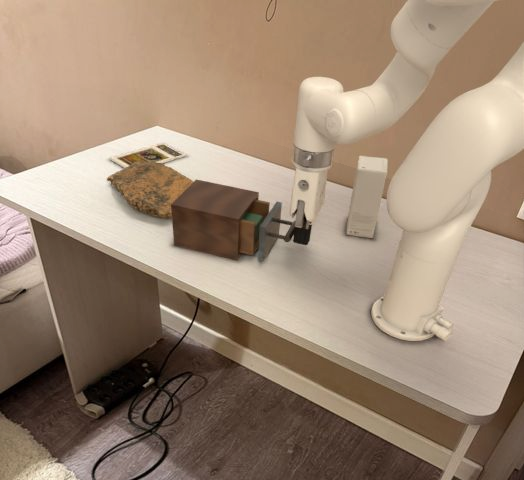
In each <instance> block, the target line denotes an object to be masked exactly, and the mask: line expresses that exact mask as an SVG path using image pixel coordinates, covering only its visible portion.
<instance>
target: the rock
mask: <svg viewBox="0 0 524 480" xmlns="http://www.w3.org/2000/svg"><path fill="white" fill-rule="evenodd" d="M106 181H107V182H110V184H111V185H112V186H113V187H114V188H116V189H117V190H118V191H119V192H120V193H121V194H123V195H124V199H125V200H126V202H127V203H128V204H129V205H130V207H132V208H133V209H134V210H136V211H138V212H142V213H145V214H147V215H152V216H154V217H158V218H160V219H169V218H172V212H171V204H172V203H173V202H174V201H175V200H176V199H177V198H178V197H179V196H180V195H181V194H182V193H183V192H184V191H185V190H186V189H187V188H188V187H189V186H190V185H191V184H192V183H193V182H194V181H193V180H192V179H191V178H189V177H187V176H185V175H184V174H182V173H180V172H178V171H177V170H175V169H174V168H172V167H171V166H167V165H165V164H164V163H157V162H147V161H146V162H145V161H136V162H134V163H133V164H131V165H130V166H128V167H126V168H123V169H120V170H118V171H116V172H114V173H113V174H110V175H109V176H108V177H106Z"/></svg>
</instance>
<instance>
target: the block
mask: <svg viewBox="0 0 524 480" xmlns="http://www.w3.org/2000/svg"><path fill="white" fill-rule="evenodd" d="M262 219H263V216H261V215H257V214H252V213H247V212H246V213H245V215H244V216H243V217H242V220H247V221H251V222H256V227H255V244H256V242H257V241H258V239H259V232H260V225H261V224H262Z"/></svg>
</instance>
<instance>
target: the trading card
mask: <svg viewBox="0 0 524 480" xmlns="http://www.w3.org/2000/svg"><path fill="white" fill-rule="evenodd" d="M186 156H187V155H186V153H185V152H182V151H181V150H179V149H177V148H176V147H173V146H171V145H170V144H167V143H166V142H159V143H155V144H152V145H149V146H145V147H142V148H138V149H134V150H131V151H127V152H123V153H120V154H116V155H113V156H110V157H109V160H110V161H112V162H113V163H115V164H117V165H118V166H120V167H122V168H123V169H124V168H126V167H128V166H130V165H131V164H133V163H134V162H136V161H145V162H146V161H147V162H157V163H163V164H164V163H165V164H166V163H168V162H171V161H175V160H177V159H178V160H179V159H180V158H184V157H186Z"/></svg>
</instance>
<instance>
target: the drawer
mask: <svg viewBox="0 0 524 480" xmlns="http://www.w3.org/2000/svg"><path fill="white" fill-rule="evenodd" d="M270 205H271V202H269V201H266V200H261V199H259V200H255V201H254V203H253V204H252V205H251V207H250V208H249V209H248V211H247V213H252V214H257V215H261V216H263V219H262V224H261V225H260V232H259V239H258V241H257V242H256V244H255V227H256V222H251V221H247V220H242V219H241V220H240V231H239V252H240V253H242V254H244V255H249V256H254V255H255V253H256V252H257V260H258V261H261V262H264V261H265V260H266V257H267V255H268V254H269V252H270V250H271V249H272V247H273V246H274V244H275V242H276V241H277V239H280V240H283V241H284V242H285V243H290V242H291V241H292V239H293V237H294V228H295V220H293V221H289V220H285V219H281V217H282V208H283V207H282V206H283V202H281V201H275V203H274V205H273V206H272V208H271V209H270ZM281 224H282V225H286V226H289V228H288V229H287V231H286V232H285V235H284V234H280V229H281V228H280V227H281ZM257 250H258V251H257Z"/></svg>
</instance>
